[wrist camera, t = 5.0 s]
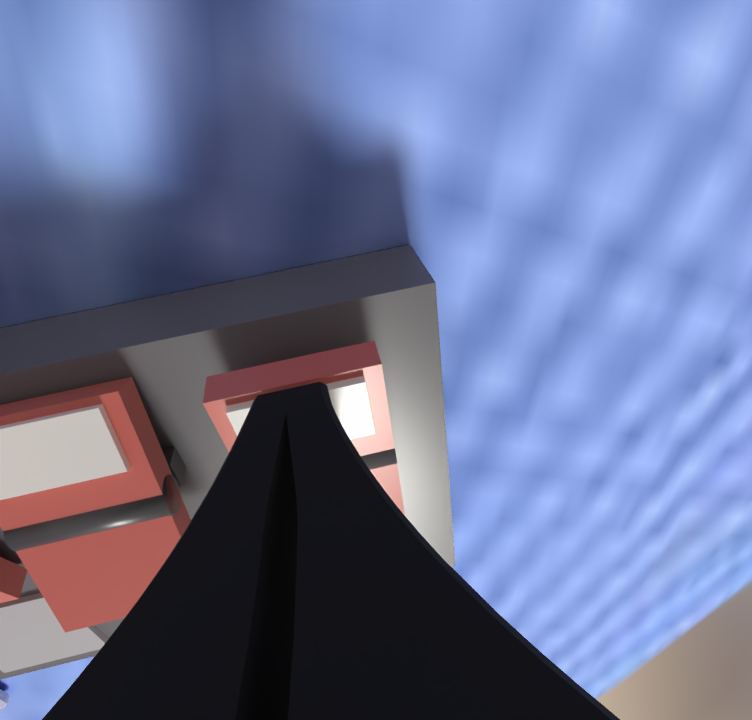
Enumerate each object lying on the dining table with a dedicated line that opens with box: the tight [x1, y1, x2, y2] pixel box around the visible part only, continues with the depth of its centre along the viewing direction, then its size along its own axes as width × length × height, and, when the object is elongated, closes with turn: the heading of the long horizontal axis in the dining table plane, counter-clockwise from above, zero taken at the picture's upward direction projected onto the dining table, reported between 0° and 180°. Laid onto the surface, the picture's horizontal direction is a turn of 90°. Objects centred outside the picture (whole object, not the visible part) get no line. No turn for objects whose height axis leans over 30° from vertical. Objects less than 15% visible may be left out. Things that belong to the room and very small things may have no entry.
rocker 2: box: [203, 341, 405, 515], centre depth 11 cm, size 4×6×1 cm, turn 8°
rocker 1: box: [0, 377, 191, 633], centre depth 11 cm, size 4×6×1 cm, turn 8°
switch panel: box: [0, 245, 455, 679], centre depth 14 cm, size 18×12×3 cm, turn 98°
